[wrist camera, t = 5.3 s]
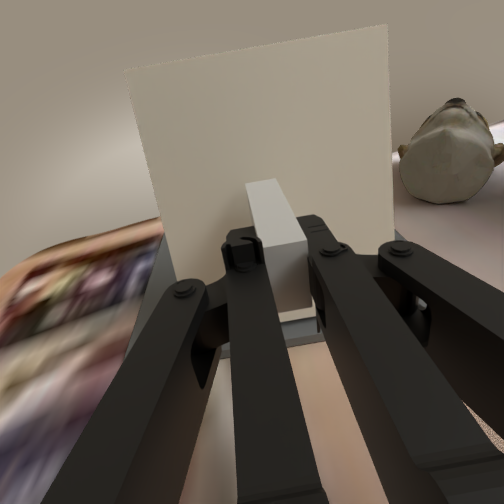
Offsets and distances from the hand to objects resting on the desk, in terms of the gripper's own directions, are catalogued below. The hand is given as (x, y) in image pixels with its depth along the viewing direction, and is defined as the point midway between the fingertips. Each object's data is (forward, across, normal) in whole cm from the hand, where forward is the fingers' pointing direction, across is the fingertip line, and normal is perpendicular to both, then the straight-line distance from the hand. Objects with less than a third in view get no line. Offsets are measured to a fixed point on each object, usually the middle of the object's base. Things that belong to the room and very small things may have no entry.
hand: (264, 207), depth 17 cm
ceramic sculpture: (+17, +20, -8) cm, 27 cm away
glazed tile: (0, +1, -7) cm, 7 cm away
